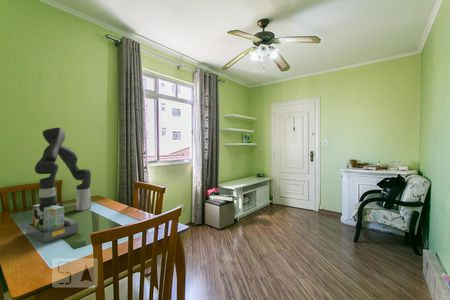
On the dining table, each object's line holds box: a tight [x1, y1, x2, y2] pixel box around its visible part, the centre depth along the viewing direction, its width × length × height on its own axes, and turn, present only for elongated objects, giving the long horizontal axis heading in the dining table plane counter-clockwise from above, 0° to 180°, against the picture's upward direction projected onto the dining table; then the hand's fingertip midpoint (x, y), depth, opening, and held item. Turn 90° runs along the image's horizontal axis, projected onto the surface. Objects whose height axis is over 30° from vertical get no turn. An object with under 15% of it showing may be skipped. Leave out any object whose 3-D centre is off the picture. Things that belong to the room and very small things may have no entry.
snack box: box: [32, 203, 65, 233], centre depth 125 cm, size 21×6×15 cm, turn 70°
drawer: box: [25, 216, 79, 245], centre depth 126 cm, size 16×26×8 cm, turn 60°
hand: (48, 222), depth 125 cm, fingers closed on snack box, 6 cm apart
